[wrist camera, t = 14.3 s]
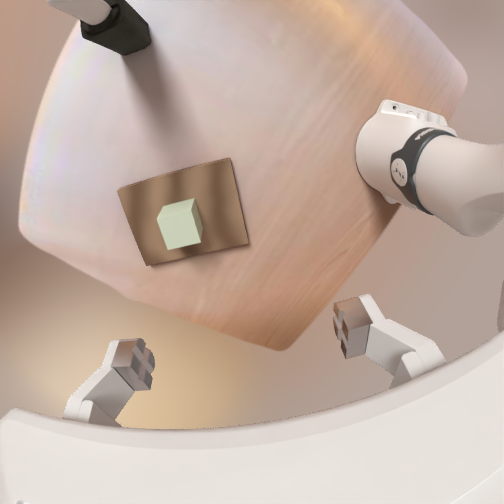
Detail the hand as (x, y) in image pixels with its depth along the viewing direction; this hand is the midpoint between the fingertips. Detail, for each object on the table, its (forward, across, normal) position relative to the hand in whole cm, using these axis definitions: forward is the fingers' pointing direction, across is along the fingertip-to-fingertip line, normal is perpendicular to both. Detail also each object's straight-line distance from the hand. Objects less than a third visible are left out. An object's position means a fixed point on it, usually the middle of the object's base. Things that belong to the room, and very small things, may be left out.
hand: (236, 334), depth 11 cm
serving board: (+32, +9, +6) cm, 34 cm away
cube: (+31, +9, +6) cm, 33 cm away
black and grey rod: (+33, +10, -24) cm, 42 cm away
